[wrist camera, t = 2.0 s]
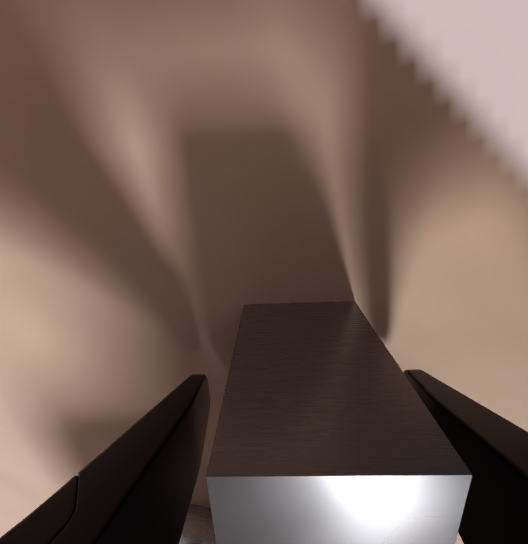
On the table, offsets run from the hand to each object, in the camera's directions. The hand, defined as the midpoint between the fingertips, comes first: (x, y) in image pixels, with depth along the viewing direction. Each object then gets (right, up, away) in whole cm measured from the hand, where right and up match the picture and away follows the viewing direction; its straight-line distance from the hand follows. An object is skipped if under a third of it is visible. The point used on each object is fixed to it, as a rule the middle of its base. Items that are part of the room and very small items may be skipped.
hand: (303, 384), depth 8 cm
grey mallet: (0, -4, +2) cm, 4 cm away
